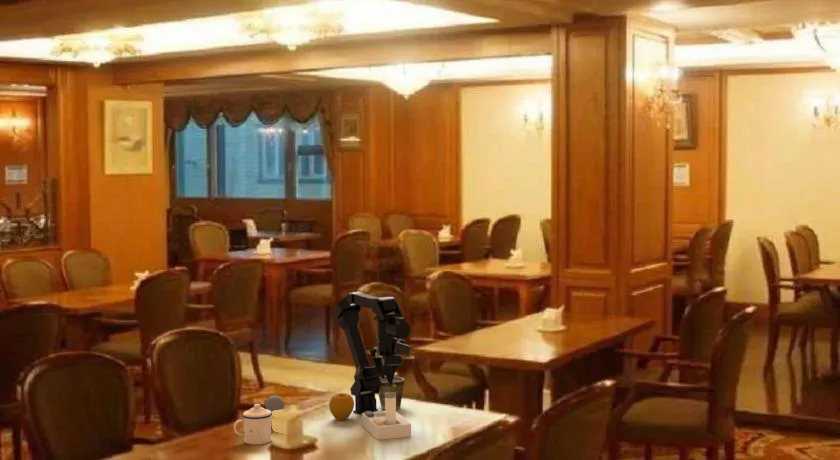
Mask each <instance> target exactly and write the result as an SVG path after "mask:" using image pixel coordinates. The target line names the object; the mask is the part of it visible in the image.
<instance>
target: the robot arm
mask: <svg viewBox="0 0 840 460" xmlns="http://www.w3.org/2000/svg"><path fill="white" fill-rule="evenodd" d="M362 307H363V308H365V309H370V310H371V312H372V313H373V314H374V315H375V316H374V317H373V321H376V336H377V337H375V341H376V342H377V345H376V346H374V347H371V348H370V356H371V359H372V361H373V363H374V366H373V365H372V364H371V363H370V361H369V357H368V354H367V351H366V348H365V345H364V341H363V339H362V335H361V332H360V329H359V326H358V325H359V322H360V312H361V311H362V309H363V308H362ZM332 311H333V312H332V314H333V317H334V320H335V322H336V324H337V326H339V327H340V328H341V329H342V330H343V331H344V335H345V338H346V341H347V344H348V347H349V350H350V353H351V358H352V360H353V362H354V363H353V364H354V367H355V372H354V376H353V380H354V382H353V384H352V385H351V387H350V395H351V396H354V398H355V399H354V408H355V410H354V409H353V411H352V413H356V414H362V413H365V411H371V412H378V410H379V408H377V398H376V394H378V393H379V390H380V385H381V379H380V377H381V378H382V379H383V378H385V377H386V378H387V381H388V383H389V384H392V382H393V378H394V376H395V373H396V371H397V369H398V368H399V367H401V366H402V365H403V363H404V362H403V357H402V356H401V355H400V354H403V355H405V356H408V357H409V356H410V354H411V351H412V346H411V345H409V344H407V343H406V341H405V340H404V339H407V338H408V337H409V335H410V333H411V327H410V325H409V324H410V323H408V322H407V321H406V318H405V317H403V314H402V313H403V312H402V310H401V309H400V307H399V304H398V302H397V300H396V298H395V297H394V296H382V297H381V296H380V297H378V296H374V295H370V294H367V293H364V292H361V291H353V292H352V291H351V292H348V293H347V294H346V296H345V297H344V298H343V299H341V300H340V301H339V302H337V303H336V305H335V307H334V309H333V310H332ZM397 339H398V340H397Z"/></svg>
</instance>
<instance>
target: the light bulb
mask: <svg viewBox="0 0 840 460" xmlns="http://www.w3.org/2000/svg"><path fill="white" fill-rule="evenodd" d="M284 406H285V402H284V400H283V398H281V396H278V395H271V396H269V397H268V398H267V399H266V401H265V409H267V410H270V411H271V412H272V411H274V410H279V409H284Z"/></svg>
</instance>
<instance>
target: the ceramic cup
mask: <svg viewBox="0 0 840 460" xmlns="http://www.w3.org/2000/svg"><path fill="white" fill-rule="evenodd" d="M380 379H381V385H380V390H379V393H377V394H378V399H379V405H380V407H381V409H383V410H385V393H386V392H395V393H396V410H397V408H398V409H400V408H401V405H402V397H403V392H404V386H405V378H404V377H401V376H395V375H394V378H393V382H392V384H389V383H388V381H387V378H386V376H385V378H383V379H382V378H381V376H380ZM399 407H400V408H399Z"/></svg>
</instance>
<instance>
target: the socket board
mask: <svg viewBox="0 0 840 460" xmlns="http://www.w3.org/2000/svg"><path fill="white" fill-rule="evenodd" d="M361 417H362V418H361V419H362V420H361V421H362V422H361V424H362V425H361V426H363V428H365V429H366V430H367V431H368V432H369V433H370V434H371V435H372V437H374V438H375V439H376V440H377V441H378V440H390V439H399V438H411V437H412V424H411V422H409V421H408V420H407V419H406V418H405V417H403V416H402V415H401V414H400V413H399V412H397V411H396V424H394V425H385V410H382V411H375V412H371V411H365V413H361Z"/></svg>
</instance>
